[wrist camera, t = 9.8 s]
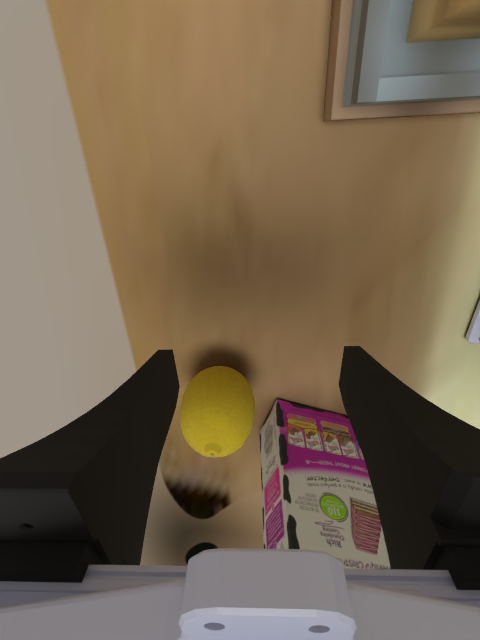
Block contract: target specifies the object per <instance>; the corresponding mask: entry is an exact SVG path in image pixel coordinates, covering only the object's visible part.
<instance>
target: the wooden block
mask: <svg viewBox="0 0 480 640" xmlns="http://www.w3.org/2000/svg"><path fill="white" fill-rule="evenodd" d="M477 38H480V0H413V5H412V11H411V17H410V23H409V28H408V34H407V40H406V43H412V42H429V41H445V40H461V39H477Z"/></svg>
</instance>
